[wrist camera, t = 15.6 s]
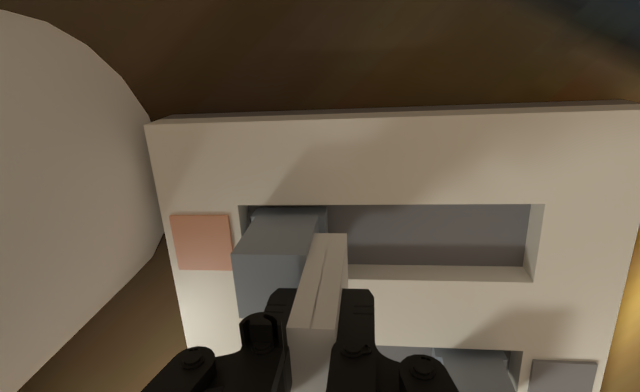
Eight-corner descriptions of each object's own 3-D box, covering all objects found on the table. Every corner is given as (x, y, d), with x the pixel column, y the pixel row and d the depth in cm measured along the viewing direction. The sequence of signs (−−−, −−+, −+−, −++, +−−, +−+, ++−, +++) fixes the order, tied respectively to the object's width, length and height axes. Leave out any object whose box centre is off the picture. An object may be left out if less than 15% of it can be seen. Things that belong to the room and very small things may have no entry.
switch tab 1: (262, 257, 22) (232, 317, 17) (257, 205, 21) (223, 254, 16) (329, 258, 22) (317, 320, 17) (326, 205, 20) (313, 255, 16)
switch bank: (236, 483, 31) (221, 529, 28) (172, 114, 22) (141, 125, 19) (541, 508, 28) (561, 563, 26) (623, 99, 19) (670, 109, 16)
